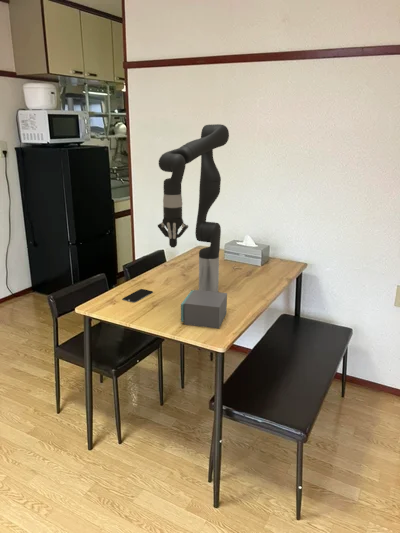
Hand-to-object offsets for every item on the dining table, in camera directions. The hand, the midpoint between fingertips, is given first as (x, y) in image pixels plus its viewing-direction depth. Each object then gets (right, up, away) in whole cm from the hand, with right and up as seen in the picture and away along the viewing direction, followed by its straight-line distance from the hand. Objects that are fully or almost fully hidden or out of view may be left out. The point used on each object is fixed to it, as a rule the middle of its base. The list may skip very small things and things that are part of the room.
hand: (173, 247), depth 178 cm
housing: (+13, -29, -2) cm, 32 cm away
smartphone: (-17, -22, +21) cm, 35 cm away
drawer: (+12, -28, -2) cm, 30 cm away
